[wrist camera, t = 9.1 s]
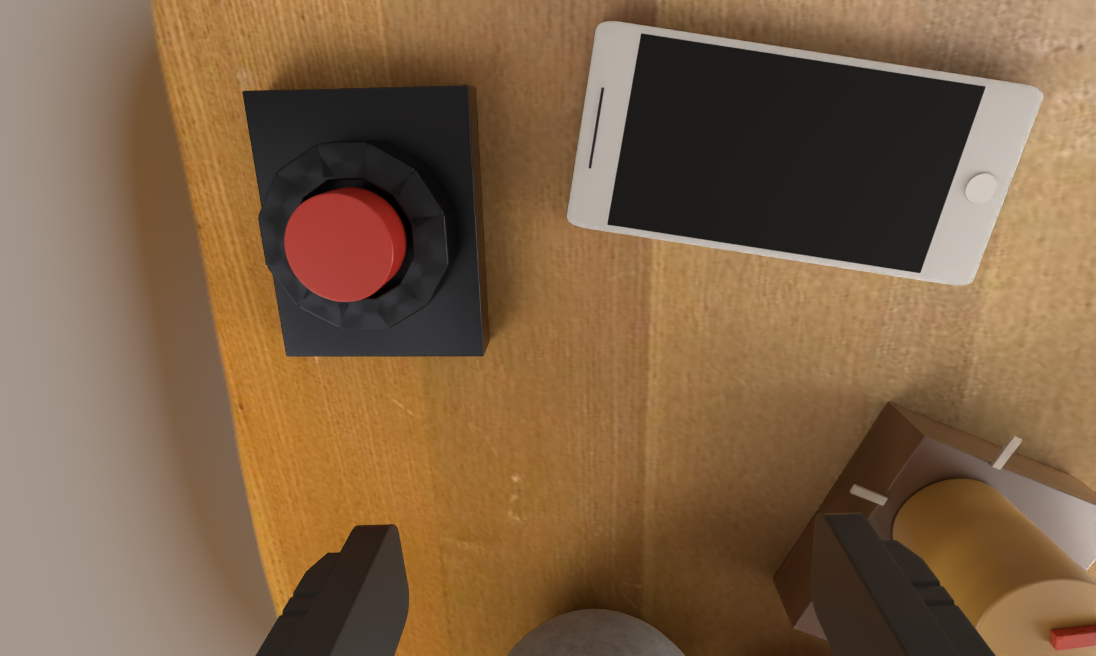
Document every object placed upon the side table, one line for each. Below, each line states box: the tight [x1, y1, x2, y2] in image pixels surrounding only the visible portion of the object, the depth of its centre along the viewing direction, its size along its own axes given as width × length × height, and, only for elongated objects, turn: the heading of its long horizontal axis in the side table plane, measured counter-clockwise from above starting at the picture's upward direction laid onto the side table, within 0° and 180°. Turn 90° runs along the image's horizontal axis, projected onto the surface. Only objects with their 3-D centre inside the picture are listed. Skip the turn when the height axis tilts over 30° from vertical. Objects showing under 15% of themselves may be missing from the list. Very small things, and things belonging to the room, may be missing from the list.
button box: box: [243, 85, 489, 356], centre depth 23 cm, size 10×8×4 cm
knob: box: [893, 479, 1096, 656], centre depth 22 cm, size 4×4×6 cm
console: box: [773, 402, 1096, 641], centre depth 27 cm, size 11×10×3 cm
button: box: [284, 187, 407, 302], centre depth 21 cm, size 4×4×2 cm
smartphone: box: [567, 21, 1043, 285], centre depth 23 cm, size 7×15×1 cm, turn 82°
